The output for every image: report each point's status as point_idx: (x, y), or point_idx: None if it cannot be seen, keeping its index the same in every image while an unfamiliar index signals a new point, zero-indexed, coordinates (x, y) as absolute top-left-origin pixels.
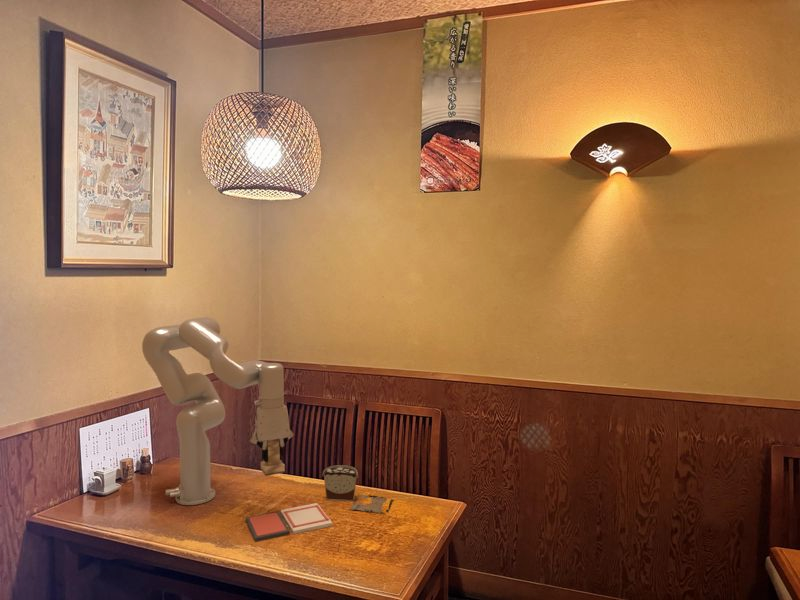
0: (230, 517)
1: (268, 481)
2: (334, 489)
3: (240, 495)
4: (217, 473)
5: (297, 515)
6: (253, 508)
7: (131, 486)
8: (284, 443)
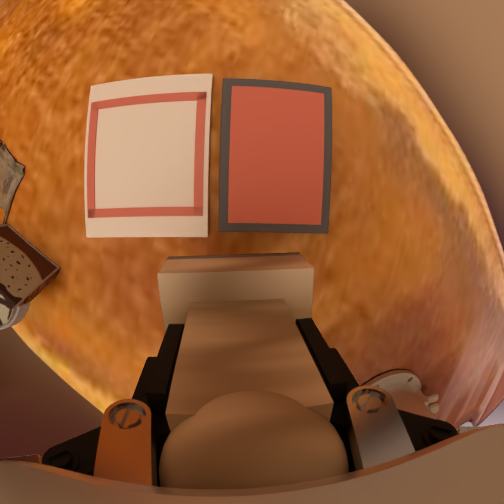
0: (355, 274)
1: None
2: (24, 263)
3: None
4: None
5: (165, 170)
6: None
7: None
8: (99, 432)
